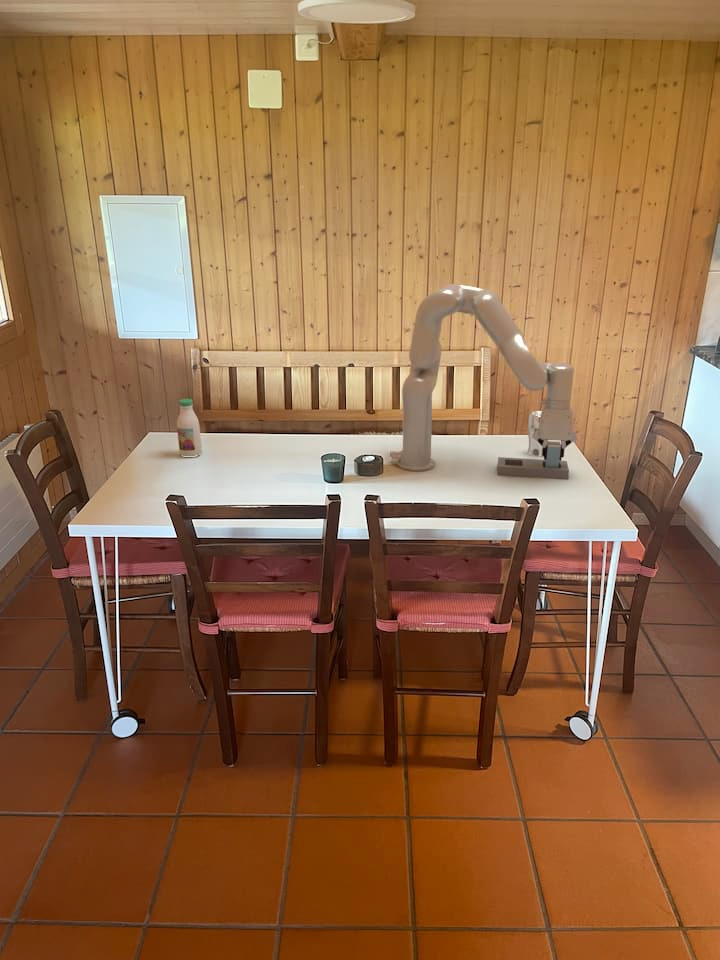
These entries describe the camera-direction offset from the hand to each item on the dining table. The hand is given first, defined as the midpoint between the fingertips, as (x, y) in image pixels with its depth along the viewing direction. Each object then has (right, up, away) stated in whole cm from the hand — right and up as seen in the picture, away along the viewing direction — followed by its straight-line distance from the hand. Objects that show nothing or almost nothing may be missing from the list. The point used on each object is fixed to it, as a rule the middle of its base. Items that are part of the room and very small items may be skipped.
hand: (552, 458), depth 223 cm
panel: (-6, -5, +3) cm, 8 cm away
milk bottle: (-122, +2, +24) cm, 124 cm away
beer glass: (0, +2, +20) cm, 20 cm away
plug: (0, -4, +1) cm, 4 cm away
